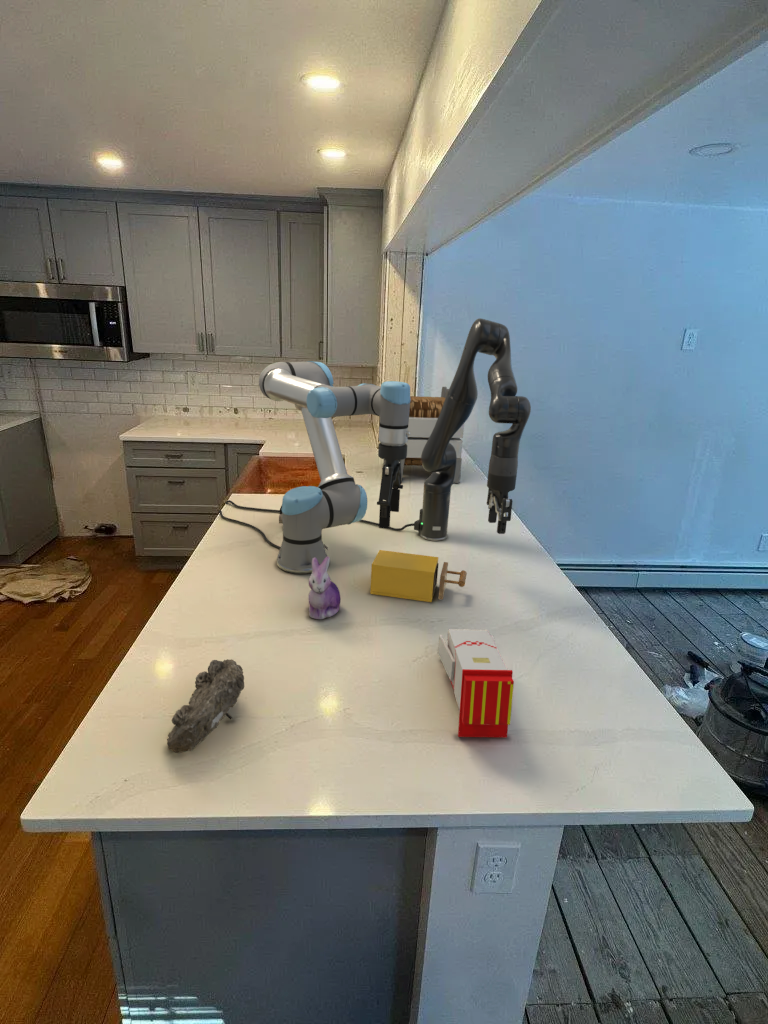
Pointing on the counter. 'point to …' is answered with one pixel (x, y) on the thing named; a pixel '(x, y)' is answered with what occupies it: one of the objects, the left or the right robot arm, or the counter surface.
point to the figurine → (322, 591)
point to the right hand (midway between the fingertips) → (496, 527)
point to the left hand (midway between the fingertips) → (389, 519)
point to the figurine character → (280, 516)
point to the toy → (478, 682)
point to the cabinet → (403, 575)
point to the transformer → (427, 430)
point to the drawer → (444, 580)
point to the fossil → (206, 705)
